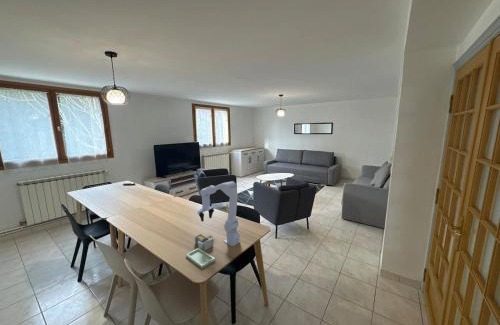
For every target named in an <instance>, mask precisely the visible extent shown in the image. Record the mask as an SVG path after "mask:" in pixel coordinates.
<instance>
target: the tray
mask: <svg viewBox="0 0 500 325" xmlns="http://www.w3.org/2000/svg"><path fill="white" fill-rule="evenodd" d="M185 257H186V258H187V259H188V260H190V261H192V263H194V264H195V265H196V266H198V267H199V268H200V269H204V268H206V267H208V266H209V265H211V264H212V263H214V262H216V258H215V257H214V256H212V255H211V254H209V253H207V252H206V250H205V251H203V250H202V249H200V248H195V249H194V250H192V251H190V252H188V253H186V254H185Z"/></svg>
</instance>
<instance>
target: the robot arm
mask: <svg viewBox="0 0 500 325" xmlns="http://www.w3.org/2000/svg"><path fill="white" fill-rule="evenodd" d="M237 189H238V185H237V183H236V182H235V181H234V180H231V181H226V182H222V183H220V184H217V185H212V184H211V185H209V186H206V187H205V188H201V189H200V191H199V192H200V196H201V200H202V201H201V203H202V204H201V207H202V208H201V209H199V210H197V215H198V216H199V218H200V221H201V222H204V217H205V212H208V218H209V219H212V217H213V213H214V212H215V206H214V205H211V204H210V203H211V202H210V201H211V200H210V197H211V195H213V194H215V193H217V191H218V190H220V191H222V192H223V193H224V194H225V195H226V196H227V197H229V202H228V214H227V219H226V220H225V223H224V224H223V227H224V228H223V229H224V231H225V232H226V239H224V241H223V242H224V243H226V244H227V245H230V246H231V247H234V246H236V245H238V244H240V243H241V240H240V236H241V235H240V233H239V231H238V227H239V218H237V206H238V196H239V195H238V194H239V193H238V190H237ZM210 205H211V206H210Z"/></svg>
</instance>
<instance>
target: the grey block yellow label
mask: <svg viewBox="0 0 500 325" xmlns="http://www.w3.org/2000/svg"><path fill="white" fill-rule="evenodd" d="M206 240H208V238H206V236H204V235H203V234H198V235H195V236H194V241H195V243H194V244H195V245H196V246H198V241H200V242H204V241H206Z"/></svg>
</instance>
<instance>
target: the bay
mask: <svg viewBox="0 0 500 325" xmlns="http://www.w3.org/2000/svg"><path fill="white" fill-rule="evenodd" d="M205 237H206V236H205ZM206 238H208V240H206V241H204V242H200V241H198V245H197V247H198V248H200V249H202V250H203V251H205V252H206V251H207V250H209V249H210V248H212V247H214V238H213V237H211V238H210V237H208V236H207V237H206Z"/></svg>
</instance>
